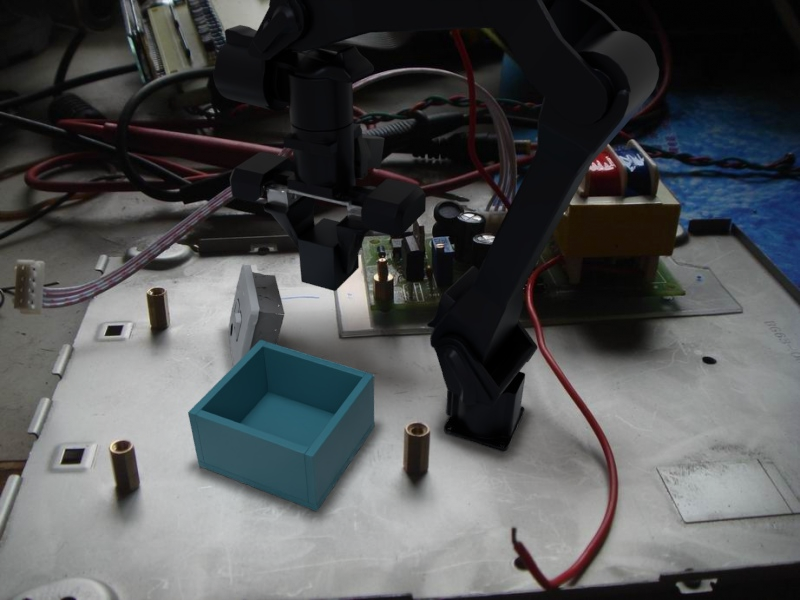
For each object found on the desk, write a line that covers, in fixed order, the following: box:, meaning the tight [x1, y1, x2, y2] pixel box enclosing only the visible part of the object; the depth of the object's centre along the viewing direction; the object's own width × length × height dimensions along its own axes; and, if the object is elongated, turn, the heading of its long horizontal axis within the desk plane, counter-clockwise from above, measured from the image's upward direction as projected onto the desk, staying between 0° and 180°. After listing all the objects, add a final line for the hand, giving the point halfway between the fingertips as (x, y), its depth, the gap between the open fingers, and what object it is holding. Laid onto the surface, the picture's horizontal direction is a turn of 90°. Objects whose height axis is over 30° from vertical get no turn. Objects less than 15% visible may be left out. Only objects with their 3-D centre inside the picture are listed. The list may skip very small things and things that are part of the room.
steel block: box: [298, 217, 360, 292], centre depth 76 cm, size 4×5×5 cm
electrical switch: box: [227, 264, 285, 368], centre depth 81 cm, size 9×5×9 cm, turn 15°
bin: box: [187, 340, 375, 512], centre depth 70 cm, size 13×12×7 cm
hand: (330, 266), depth 77 cm, fingers closed on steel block, 4 cm apart
